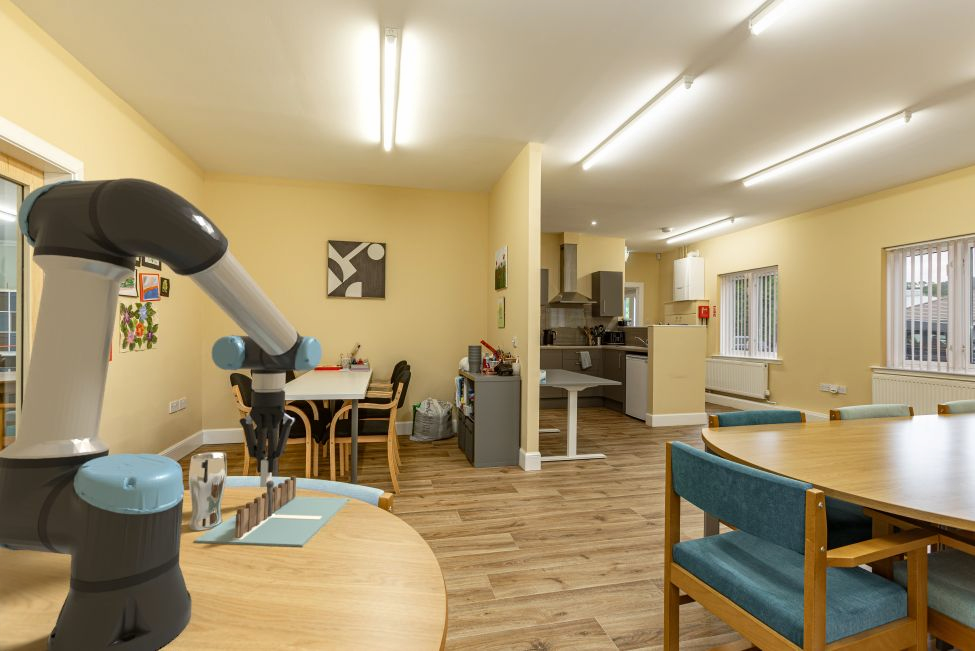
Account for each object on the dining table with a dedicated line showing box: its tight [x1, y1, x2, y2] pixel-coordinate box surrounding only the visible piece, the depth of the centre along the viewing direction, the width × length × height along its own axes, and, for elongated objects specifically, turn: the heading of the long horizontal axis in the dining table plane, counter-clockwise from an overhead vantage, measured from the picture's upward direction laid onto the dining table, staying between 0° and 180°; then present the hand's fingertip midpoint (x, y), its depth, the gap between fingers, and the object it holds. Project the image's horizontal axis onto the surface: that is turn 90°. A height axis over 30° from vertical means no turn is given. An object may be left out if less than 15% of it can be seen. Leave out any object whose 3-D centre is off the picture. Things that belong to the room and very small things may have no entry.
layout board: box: [193, 496, 350, 548], centre depth 100 cm, size 26×22×1 cm
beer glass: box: [188, 451, 228, 532], centre depth 96 cm, size 7×7×15 cm
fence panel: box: [272, 475, 297, 513], centre depth 107 cm, size 11×1×5 cm, turn 177°
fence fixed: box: [235, 480, 275, 538], centre depth 95 cm, size 13×2×8 cm, turn 177°
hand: (265, 485), depth 109 cm, fingers closed
